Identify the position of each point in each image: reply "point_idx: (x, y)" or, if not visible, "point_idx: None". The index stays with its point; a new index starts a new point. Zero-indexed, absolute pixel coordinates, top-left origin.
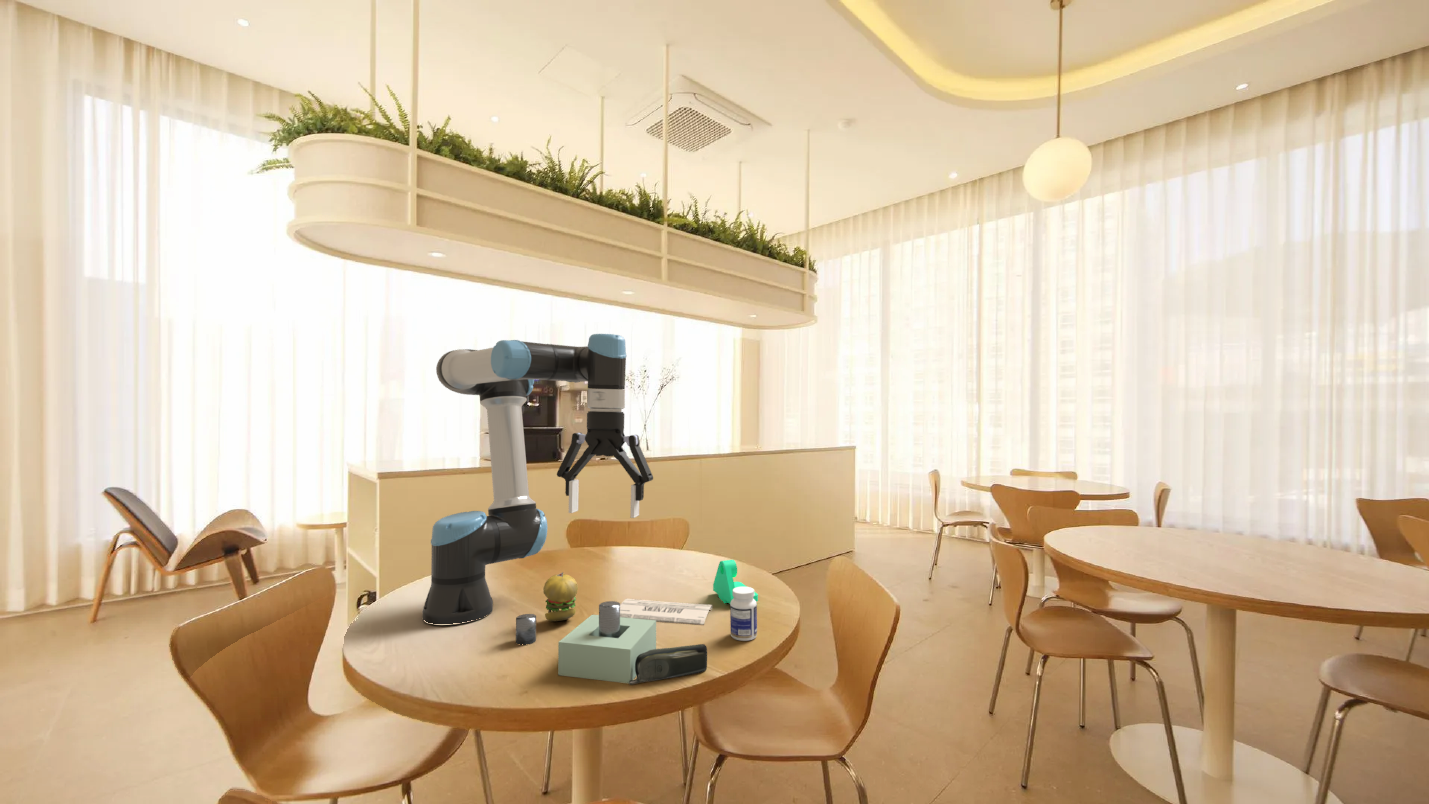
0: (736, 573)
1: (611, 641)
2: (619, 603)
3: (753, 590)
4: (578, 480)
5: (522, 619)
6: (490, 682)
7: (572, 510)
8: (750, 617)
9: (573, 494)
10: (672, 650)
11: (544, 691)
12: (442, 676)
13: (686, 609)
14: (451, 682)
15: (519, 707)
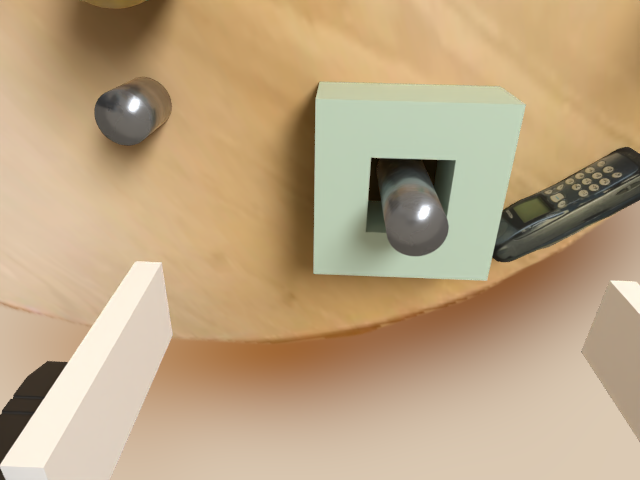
0: None
1: (432, 252)
2: (444, 216)
3: None
4: (50, 466)
5: (124, 136)
6: (210, 280)
7: (166, 339)
8: None
9: (124, 420)
10: (575, 227)
11: (322, 290)
12: (112, 277)
13: None
14: None
15: (309, 334)
